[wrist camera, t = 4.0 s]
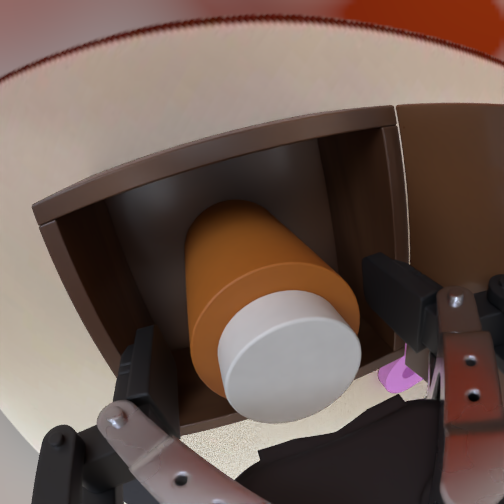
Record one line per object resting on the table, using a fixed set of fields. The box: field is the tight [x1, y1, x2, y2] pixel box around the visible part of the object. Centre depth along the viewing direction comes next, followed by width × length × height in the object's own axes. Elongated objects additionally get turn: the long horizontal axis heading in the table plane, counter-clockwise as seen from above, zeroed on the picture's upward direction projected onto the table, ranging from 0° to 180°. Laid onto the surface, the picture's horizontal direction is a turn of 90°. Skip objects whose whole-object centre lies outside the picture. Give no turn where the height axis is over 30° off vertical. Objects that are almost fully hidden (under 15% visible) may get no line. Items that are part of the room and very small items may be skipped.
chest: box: [32, 105, 409, 436], centre depth 15 cm, size 14×13×7 cm
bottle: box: [185, 199, 361, 424], centre depth 13 cm, size 6×6×11 cm
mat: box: [123, 479, 160, 504], centre depth 27 cm, size 12×12×1 cm
